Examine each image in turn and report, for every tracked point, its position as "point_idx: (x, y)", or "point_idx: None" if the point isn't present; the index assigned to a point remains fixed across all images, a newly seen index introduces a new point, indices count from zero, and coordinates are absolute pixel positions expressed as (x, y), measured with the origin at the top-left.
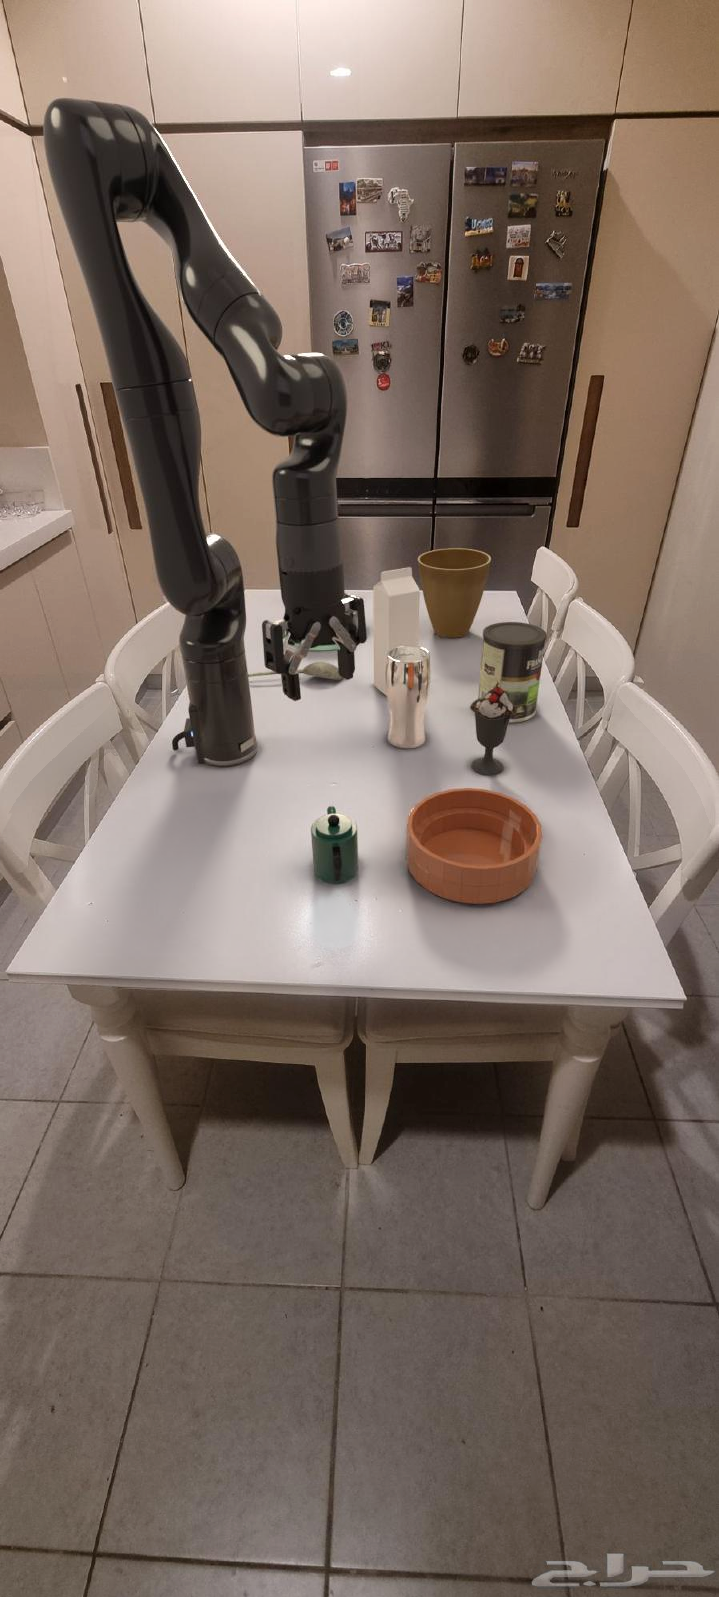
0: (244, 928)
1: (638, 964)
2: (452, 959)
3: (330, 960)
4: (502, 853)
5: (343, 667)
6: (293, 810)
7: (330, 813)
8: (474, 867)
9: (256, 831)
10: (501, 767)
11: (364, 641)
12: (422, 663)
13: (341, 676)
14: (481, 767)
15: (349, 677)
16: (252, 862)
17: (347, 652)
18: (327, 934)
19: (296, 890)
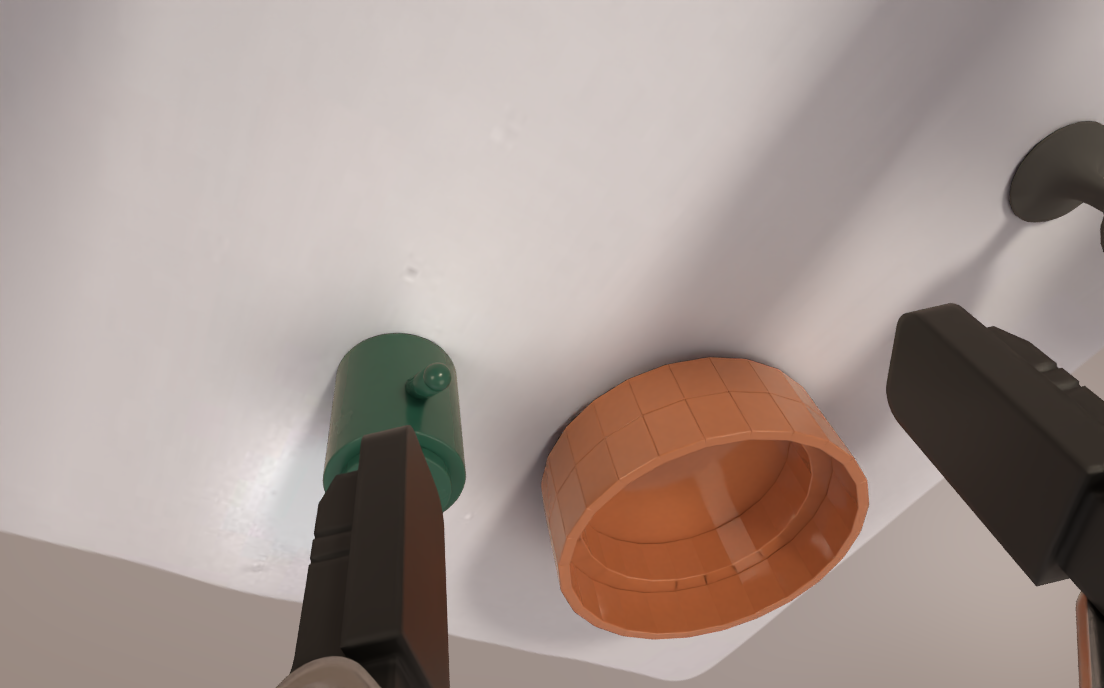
0: (108, 463)
1: (700, 658)
2: (485, 607)
3: (283, 567)
4: (745, 477)
5: (949, 415)
6: (381, 64)
7: (426, 392)
8: (613, 630)
9: (203, 119)
10: (1071, 208)
11: None
12: None
13: (898, 335)
14: (1035, 187)
15: (899, 421)
16: (162, 266)
17: (1063, 567)
18: (299, 523)
19: (270, 406)
